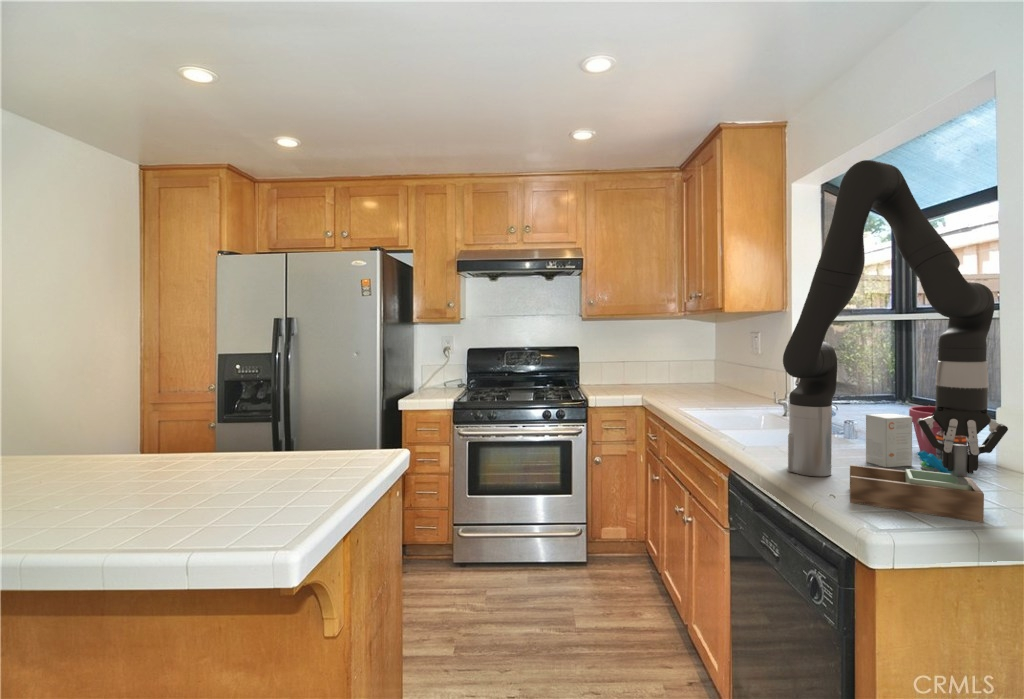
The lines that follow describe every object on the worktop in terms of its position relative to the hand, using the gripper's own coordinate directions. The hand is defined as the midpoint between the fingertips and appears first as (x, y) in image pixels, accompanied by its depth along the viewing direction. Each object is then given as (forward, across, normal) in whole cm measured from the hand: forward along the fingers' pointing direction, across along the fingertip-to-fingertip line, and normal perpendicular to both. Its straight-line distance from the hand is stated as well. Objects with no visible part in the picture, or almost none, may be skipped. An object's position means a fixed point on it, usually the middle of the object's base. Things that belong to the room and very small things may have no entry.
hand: (959, 471), depth 97 cm
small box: (+8, -9, +34) cm, 37 cm away
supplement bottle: (+8, +4, +38) cm, 39 cm away
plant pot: (+8, +4, +54) cm, 54 cm away
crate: (+7, -3, 0) cm, 8 cm away
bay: (+8, -8, 0) cm, 11 cm away
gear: (+8, -1, +20) cm, 22 cm away
